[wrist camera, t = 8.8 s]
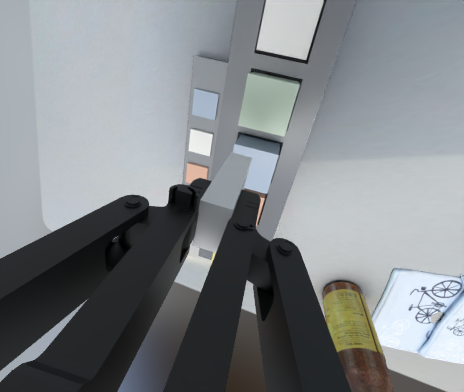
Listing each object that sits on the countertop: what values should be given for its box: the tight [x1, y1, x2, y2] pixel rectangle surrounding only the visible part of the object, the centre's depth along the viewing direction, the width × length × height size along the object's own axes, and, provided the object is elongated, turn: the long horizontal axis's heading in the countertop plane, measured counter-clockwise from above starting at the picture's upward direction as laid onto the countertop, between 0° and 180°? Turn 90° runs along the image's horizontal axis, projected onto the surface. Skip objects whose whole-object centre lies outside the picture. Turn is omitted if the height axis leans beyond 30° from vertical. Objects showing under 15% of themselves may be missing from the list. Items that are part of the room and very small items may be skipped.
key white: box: [256, 0, 324, 60], centre depth 23 cm, size 5×5×4 cm
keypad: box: [182, 0, 357, 260], centre depth 30 cm, size 14×36×3 cm, turn 169°
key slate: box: [233, 134, 280, 194], centre depth 27 cm, size 5×5×4 cm
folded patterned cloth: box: [372, 269, 464, 364], centre depth 37 cm, size 19×20×2 cm
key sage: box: [238, 72, 300, 137], centre depth 24 cm, size 5×5×4 cm
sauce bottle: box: [323, 282, 394, 392], centre depth 31 cm, size 7×6×20 cm
